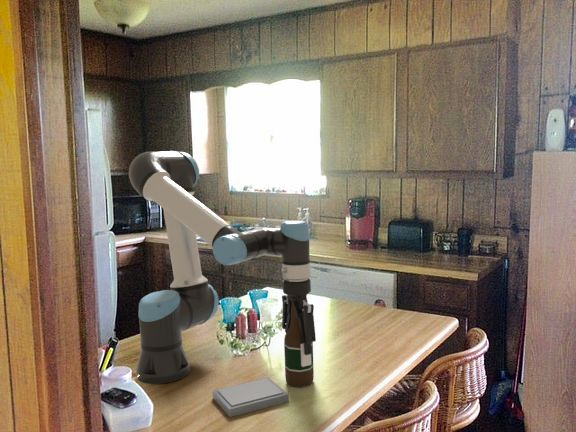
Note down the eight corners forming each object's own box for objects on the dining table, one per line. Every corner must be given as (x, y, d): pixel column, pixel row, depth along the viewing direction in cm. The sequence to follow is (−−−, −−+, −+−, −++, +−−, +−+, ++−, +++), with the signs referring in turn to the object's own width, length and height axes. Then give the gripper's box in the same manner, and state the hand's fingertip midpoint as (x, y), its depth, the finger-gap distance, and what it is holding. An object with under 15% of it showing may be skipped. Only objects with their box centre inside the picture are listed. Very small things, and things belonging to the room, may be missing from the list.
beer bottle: (312, 375, 151) (310, 292, 149) (315, 387, 144) (312, 299, 141) (285, 376, 151) (282, 293, 148) (286, 388, 143) (283, 301, 141)
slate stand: (212, 398, 139) (212, 389, 139) (268, 384, 146) (268, 376, 146) (229, 417, 128) (229, 408, 128) (289, 401, 136) (288, 392, 135)
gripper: (267, 273, 151) (270, 351, 154) (302, 287, 133) (305, 376, 136) (291, 270, 155) (293, 347, 157) (328, 283, 137) (330, 370, 139)
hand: (299, 360), depth 147 cm, fingers closed on beer bottle, 7 cm apart
